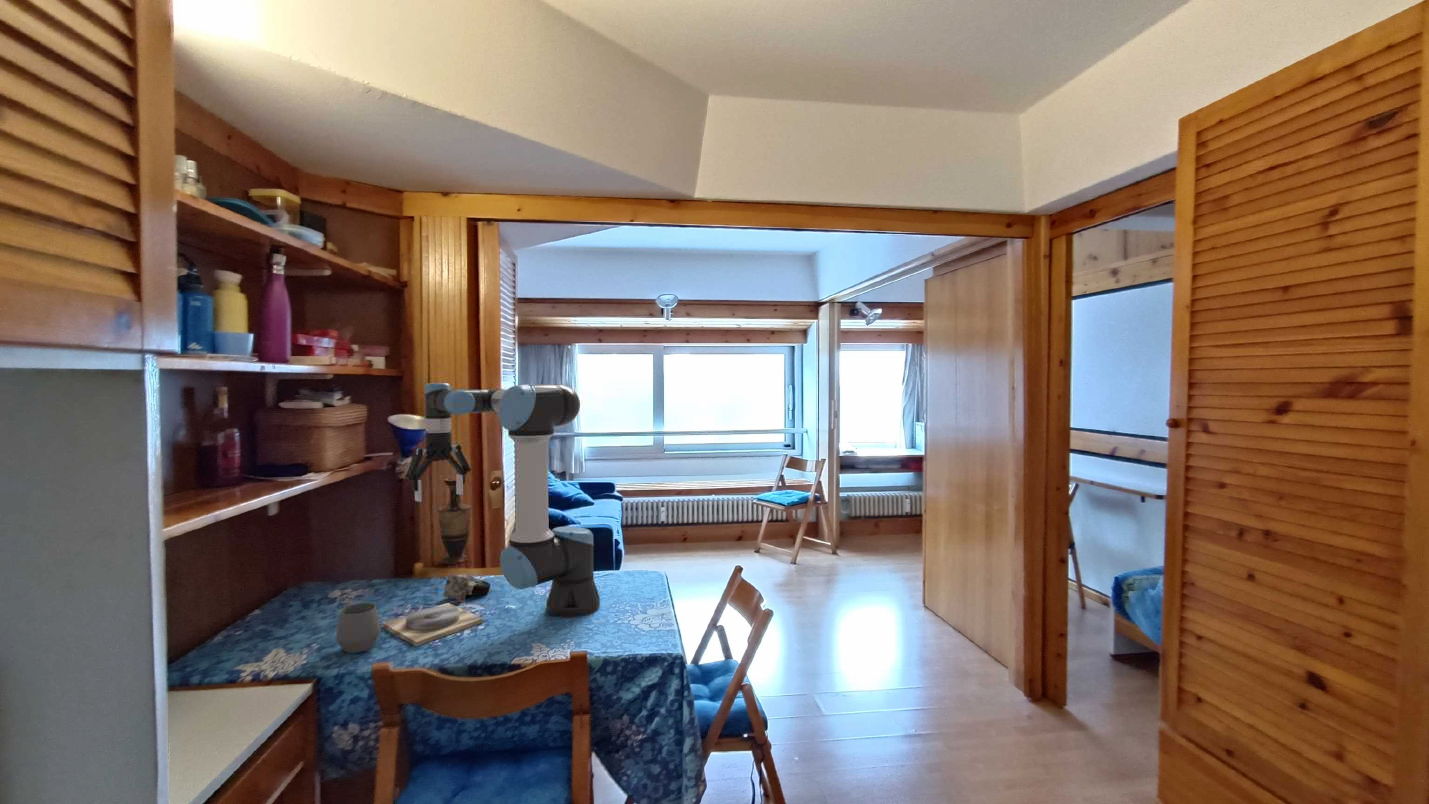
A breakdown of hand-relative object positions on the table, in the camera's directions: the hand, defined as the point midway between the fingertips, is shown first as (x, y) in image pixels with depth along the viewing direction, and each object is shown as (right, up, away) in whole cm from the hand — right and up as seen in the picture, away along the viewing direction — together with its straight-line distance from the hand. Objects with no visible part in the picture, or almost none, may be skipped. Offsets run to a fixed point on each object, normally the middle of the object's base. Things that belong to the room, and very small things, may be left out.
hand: (439, 497), depth 190 cm
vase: (-6, -27, +25) cm, 37 cm away
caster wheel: (+13, -29, -8) cm, 33 cm away
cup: (+1, -30, -44) cm, 53 cm away
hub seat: (+12, -29, -30) cm, 44 cm away
